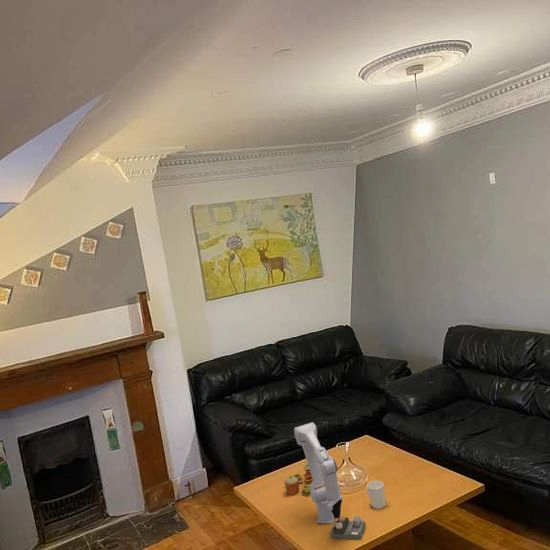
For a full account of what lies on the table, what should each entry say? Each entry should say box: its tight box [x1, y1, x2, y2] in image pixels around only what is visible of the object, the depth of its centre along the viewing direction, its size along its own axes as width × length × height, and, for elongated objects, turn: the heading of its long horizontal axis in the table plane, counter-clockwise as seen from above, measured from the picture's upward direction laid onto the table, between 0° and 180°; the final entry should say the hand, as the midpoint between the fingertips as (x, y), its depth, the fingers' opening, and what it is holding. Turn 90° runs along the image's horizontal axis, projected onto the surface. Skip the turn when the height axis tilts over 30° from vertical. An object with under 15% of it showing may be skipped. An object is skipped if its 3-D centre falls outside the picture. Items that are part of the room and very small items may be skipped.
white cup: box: [366, 480, 387, 510], centre depth 249 cm, size 8×8×10 cm
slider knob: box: [352, 516, 363, 527], centre depth 232 cm, size 3×3×3 cm
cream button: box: [334, 522, 343, 530], centre depth 230 cm, size 3×3×2 cm
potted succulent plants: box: [283, 463, 313, 497], centre depth 282 cm, size 26×16×10 cm, turn 169°
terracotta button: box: [337, 515, 346, 523], centre depth 235 cm, size 3×3×2 cm
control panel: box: [329, 517, 367, 540], centre depth 232 cm, size 10×14×4 cm
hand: (337, 516), depth 230 cm, fingers closed
